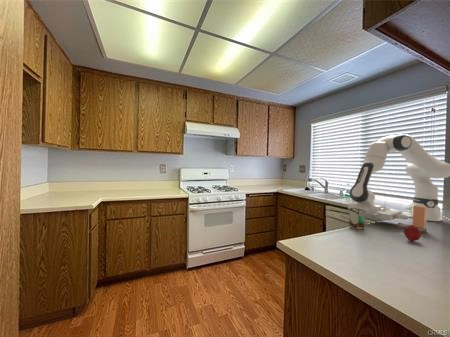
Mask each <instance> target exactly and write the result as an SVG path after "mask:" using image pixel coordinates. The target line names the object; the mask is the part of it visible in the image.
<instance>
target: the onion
mask: <svg viewBox="0 0 450 337" xmlns="http://www.w3.org/2000/svg"><path fill="white" fill-rule="evenodd" d="M410 225H411V226H408V227H407V228H405V229H403V234H404V235H405V237H406V238H407V239H408V240H409V241H411V242H415V241H418V240H420V239H421V237H422V233H421V232H420V230H419V229H418V228H417V227H415V226H414V224H413V223H411V224H410Z"/></svg>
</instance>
